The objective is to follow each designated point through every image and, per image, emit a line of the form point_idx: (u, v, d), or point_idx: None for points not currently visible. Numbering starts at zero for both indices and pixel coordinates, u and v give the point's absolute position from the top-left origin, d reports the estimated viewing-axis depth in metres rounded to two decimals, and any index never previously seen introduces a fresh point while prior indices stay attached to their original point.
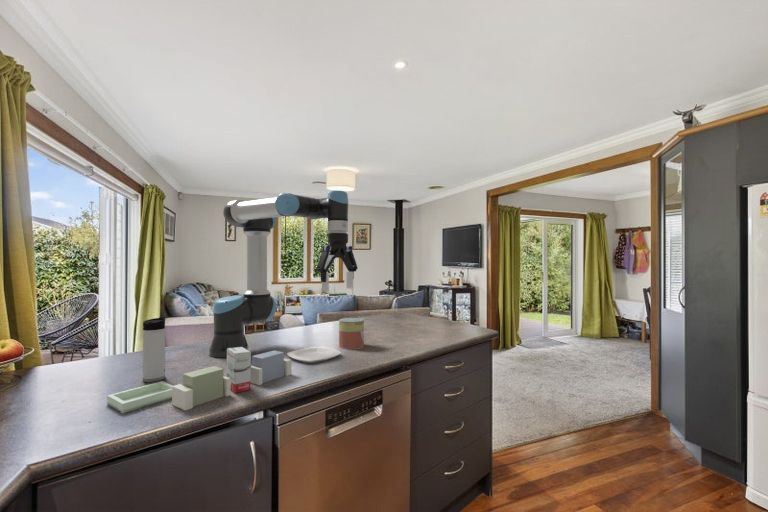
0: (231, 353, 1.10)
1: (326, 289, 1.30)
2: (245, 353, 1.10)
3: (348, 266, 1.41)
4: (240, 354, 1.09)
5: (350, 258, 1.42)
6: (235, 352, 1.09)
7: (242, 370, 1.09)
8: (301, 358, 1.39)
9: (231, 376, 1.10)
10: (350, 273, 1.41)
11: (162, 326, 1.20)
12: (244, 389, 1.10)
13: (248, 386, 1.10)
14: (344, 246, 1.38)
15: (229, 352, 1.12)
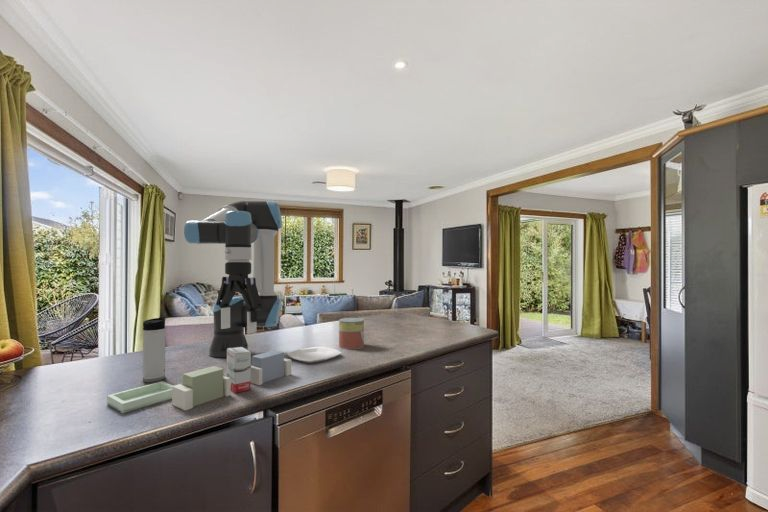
0: (231, 353, 1.10)
1: None
2: (245, 353, 1.10)
3: None
4: (240, 354, 1.09)
5: None
6: (235, 352, 1.09)
7: (242, 370, 1.09)
8: (301, 358, 1.39)
9: (231, 376, 1.10)
10: None
11: (162, 326, 1.20)
12: (244, 389, 1.10)
13: (248, 386, 1.10)
14: (239, 278, 1.10)
15: (229, 352, 1.12)
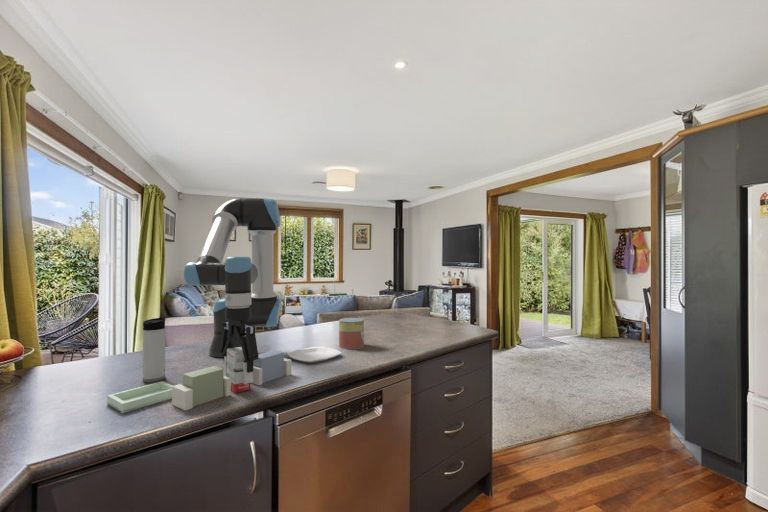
0: (231, 353, 1.10)
1: None
2: None
3: None
4: (240, 354, 1.09)
5: None
6: (235, 352, 1.09)
7: (242, 370, 1.09)
8: (301, 358, 1.39)
9: (231, 376, 1.10)
10: None
11: (162, 326, 1.20)
12: (244, 389, 1.10)
13: (248, 386, 1.10)
14: (240, 324, 1.10)
15: (229, 352, 1.12)
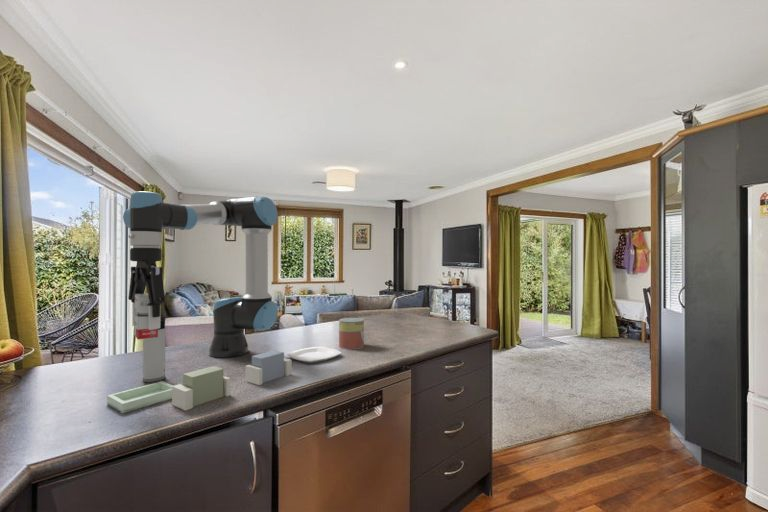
0: (136, 297, 1.01)
1: None
2: None
3: None
4: (145, 297, 0.99)
5: None
6: (140, 295, 1.00)
7: (147, 315, 1.00)
8: (301, 358, 1.39)
9: (136, 322, 1.00)
10: None
11: (162, 326, 1.20)
12: (150, 336, 1.00)
13: (155, 333, 1.01)
14: (146, 265, 1.01)
15: (135, 297, 1.02)
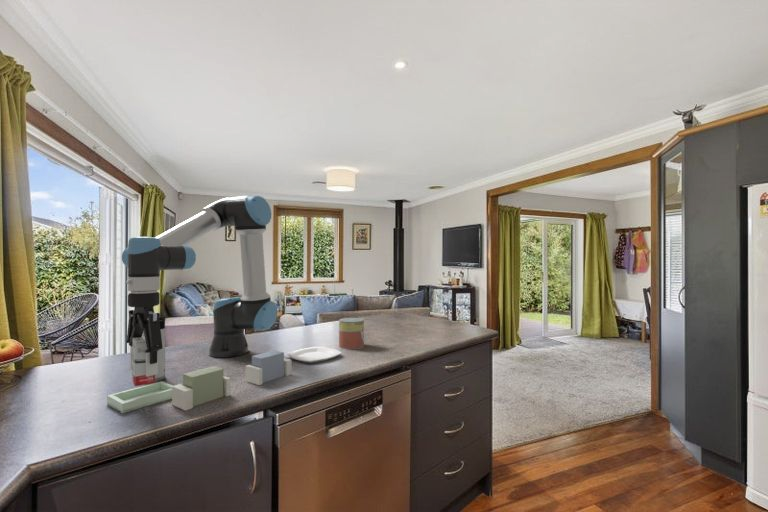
0: (134, 342, 1.01)
1: None
2: None
3: None
4: (142, 343, 0.99)
5: None
6: (137, 341, 0.99)
7: (144, 361, 0.99)
8: (301, 358, 1.39)
9: (133, 368, 1.00)
10: None
11: (162, 326, 1.20)
12: (147, 382, 1.00)
13: (152, 379, 1.00)
14: (143, 310, 1.00)
15: (133, 342, 1.02)
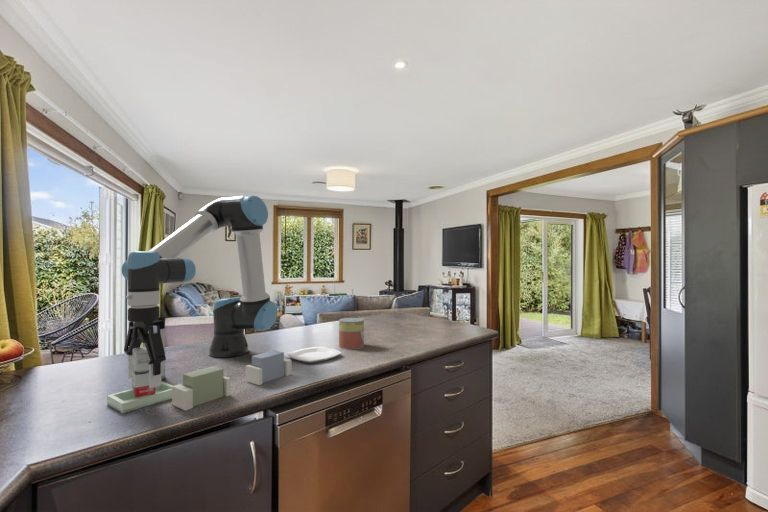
0: (134, 353, 1.01)
1: None
2: None
3: None
4: (142, 355, 0.99)
5: None
6: (137, 352, 0.99)
7: (144, 372, 0.99)
8: (301, 358, 1.39)
9: (133, 379, 1.00)
10: None
11: (162, 326, 1.20)
12: (147, 393, 1.00)
13: (152, 390, 1.00)
14: (143, 325, 1.01)
15: (133, 352, 1.02)
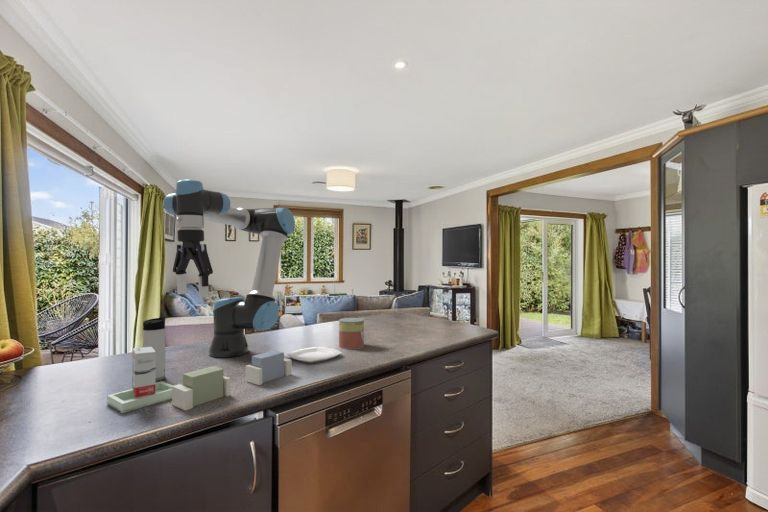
0: (134, 353, 1.01)
1: None
2: (148, 353, 1.00)
3: None
4: (142, 355, 0.99)
5: None
6: (137, 352, 0.99)
7: (144, 372, 0.99)
8: (301, 358, 1.39)
9: (133, 379, 1.00)
10: None
11: (162, 326, 1.20)
12: (147, 393, 1.00)
13: (152, 390, 1.00)
14: (191, 245, 1.15)
15: (133, 352, 1.02)
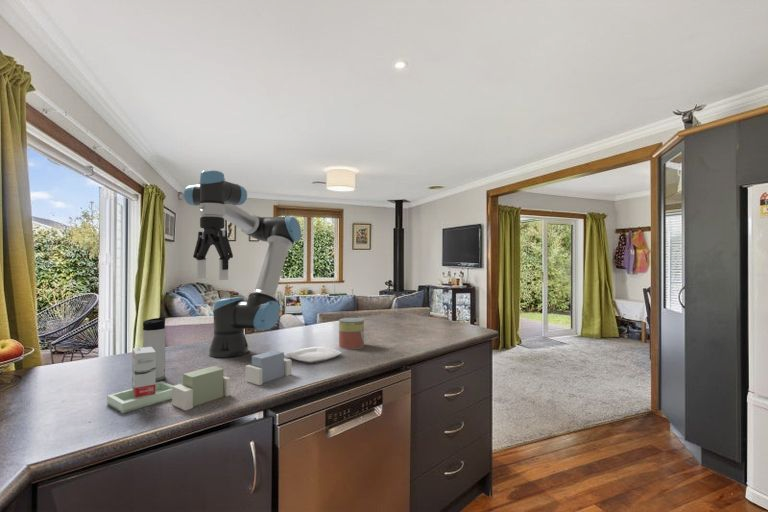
0: (134, 353, 1.01)
1: None
2: (149, 353, 1.00)
3: None
4: (142, 354, 0.99)
5: None
6: (137, 352, 0.99)
7: (144, 372, 0.99)
8: (301, 358, 1.39)
9: (133, 379, 1.00)
10: None
11: (162, 326, 1.20)
12: (147, 393, 1.00)
13: (152, 390, 1.00)
14: (213, 231, 1.22)
15: (133, 352, 1.02)
